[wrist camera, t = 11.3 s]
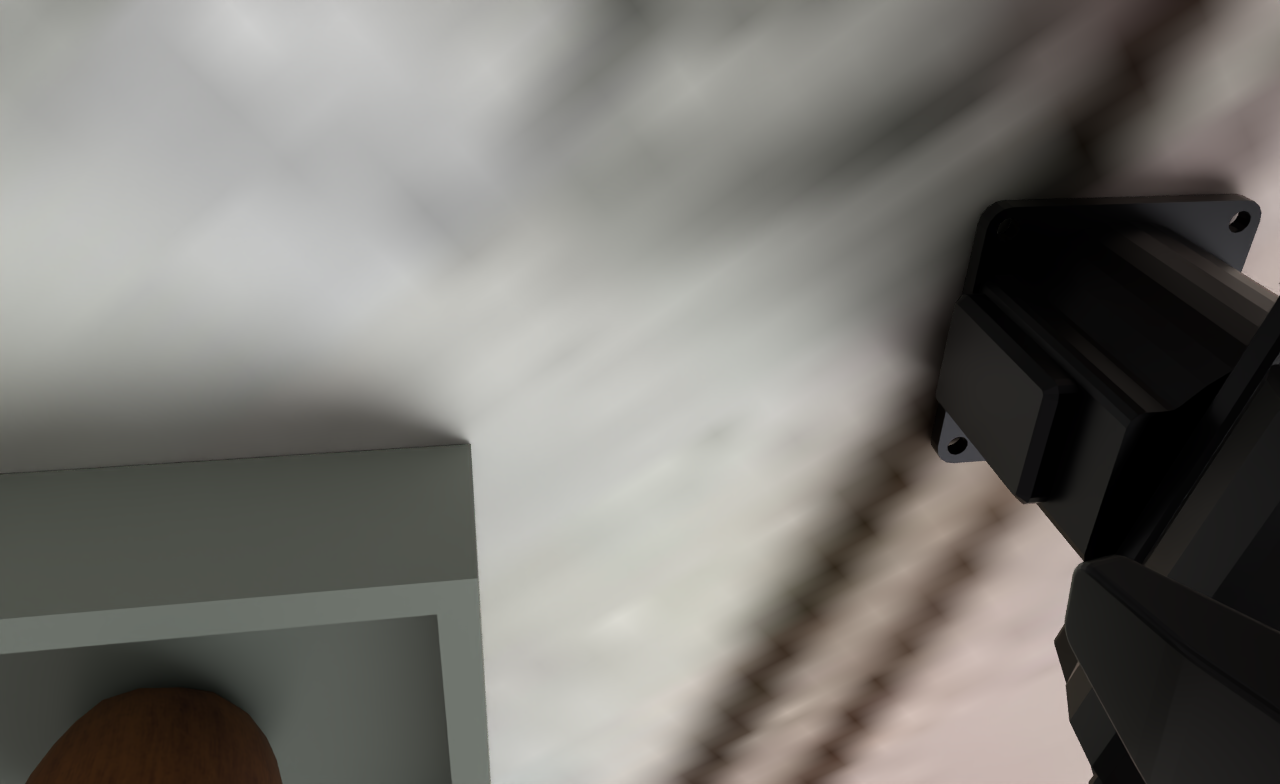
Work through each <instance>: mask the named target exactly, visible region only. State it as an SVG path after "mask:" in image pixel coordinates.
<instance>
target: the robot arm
mask: <svg viewBox="0 0 1280 784" xmlns="http://www.w3.org/2000/svg"><path fill="white" fill-rule="evenodd" d="M1238 212H1239V213H1238ZM1237 213H1238V216H1237V218H1236V220H1235V221H1234V222H1232V223H1231V224H1230V225H1229V222H1230V220H1231V219H1232V217H1233V216H1234V215H1235V214H1237ZM1009 218H1011V223H1010V225H1009V227H1008V228H1007V229H1006V230H1005V231H1004V232H1002V233H998V234H997V229H998V227H999V225H1000V224H1001V223H1002V222H1003V221H1004V220H1006V219H1009ZM1260 218H1261V210H1260V206H1259V205H1258V204H1257V203H1256V202H1254V201H1253V200H1251V199H1249V198H1247V197H1245V196H1243V195H1239V194H1211V195H1176V196H1140V197H1105V198H1070V199H1034V200H1004V201H1000V202H996V203H994V204H992V205H991V206H989V207H988V208H987V209H986V210H985V211H984V212H983V213H982V215H981V217H980V219H979V222H978V225H977V230H976V234H975V239H974V244H973V248H972V253H971V257H970V262H969V266H968V271H967V276H966V280H965V285H964V289H963V294H962V296H961V297H960V298H959V300H958V301H957V302H956V304H955V306H954V310H953V315H952V320H951V324H950V329H949V333H948V338H947V343H946V347H945V352H944V357H943V361H942V366H941V371H940V375H939V380H938V385H937V389H936V399H937V400H938V402H939V404H938V409H937V413H936V418H935V423H934V427H933V432H932V436H931V445H932V447H933V449H934V450H935V452H936V453H937V454H938V456H939V457H940V458H941V459H942V460H944V461H945V462H949V463H960V462H974V461H986V462H987V463H988V464H989V465H990V467H991V468H992V469H993V470H994V472H995V473H996V474H997V475H998V477H999V478H1000V479H1001V480H1002V482H1003V483H1004V484H1005V485H1006V487H1007V488H1008V489H1009V490H1010V492H1011V493H1012V494H1013V495H1014V496H1015V497H1016V498H1017V499H1018V500H1019V501H1020V502H1021V503H1023V504H1033V503H1036V504H1037V505H1038V506H1039V507H1040V509H1041V510H1042V511H1043V512H1044V513H1045V515H1046V516H1047V517H1048V518H1049V520H1050V521H1051V522H1052V523H1053V524H1054V526H1055V527H1056V528H1057V529H1058V530H1059V532H1060V533H1061V534H1062V535H1063V537H1064V538H1065V539H1066V540H1067V541H1068V543H1069V544H1070V545H1071V546H1072V548H1073V549H1074V550H1075V551H1076V552H1077V554H1078V555H1079V556H1080V557H1081V558H1082V560H1083V561H1084V562H1082V563H1080V564H1079V565H1078V566H1077V567H1076V569H1075V570H1074V572H1073V576H1072V582H1071V588H1070V593H1069V599H1068V605H1067V610H1066V616H1065V624H1064V625H1063V627H1062V629H1061V630H1060V632H1059V633H1058V635H1057V637H1056V638H1055V640H1054V644H1055V647H1056V651H1057V654H1058V657H1059V661H1060V664H1061V667H1062V671H1063V674H1064V677H1065V681H1066V692H1067V702H1068V712H1069V721H1070V723H1071V725H1072V727H1073V730H1074V732H1075V734H1076V736H1077V738H1078V740H1079V742H1080V744H1081V746H1082V748H1083V750H1084V752H1085V754H1086V757H1087V759H1088V761H1089V763H1090V765H1091V768H1092V772H1093V777H1092V778H1091V780H1090V781H1089V784H1280V296H1278V295H1276V294H1275V293H1273V292H1272V291H1270V290H1268V289H1267V288H1265V287H1264V286H1262V285H1260V284H1259V283H1257V282H1255V281H1254V280H1252V279H1251V278H1249V277H1247V276H1246V275H1244V274H1243V273H1241V271H1242V269H1243V266H1244V263H1245V260H1246V258H1247V255H1248V252H1249V250H1250V247H1251V244H1252V241H1253V239H1254V236H1255V233H1256V231H1257V228H1258V225H1259V222H1260ZM1279 284H1280V283H1279ZM957 437H960V438H959V440H958V441H957V442H956V443H954V444H952V445H949V446H948V444H949V443H950V441H952V440H953V439H954V438H957Z"/></svg>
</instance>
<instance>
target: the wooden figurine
mask: <svg viewBox="0 0 1280 784" xmlns="http://www.w3.org/2000/svg"><path fill="white" fill-rule="evenodd" d="M25 784H282V779H281V775H280V771H279V767H278V763H277V759H276V757H275V755H274V752H273V750H272V748H271V746H270V743H269V741H268V739H267V737H266V736H265V734H264V733H263V732H262V731H261V729H260V728H259V727H258V725H257V724H256V723H255V722H254V720H253V719H252V718H251V716H250V715H249V714H248V713H247V712H245V711H244V710H242V709H241V708H239V707H238V706H236V705H234V704H233V703H231V702H229V701H228V700H226V699H224V698H222V697H221V696H219V695H217V694H216V693H214V692H211V691H204V690H197V689H191V688H184V687H169V688H138V689H135V690H132V691H129V692H126V693H123V694H120V695H116V696H113V697H110V698H107V699H104V700H102V701H101V702H99V703H98V704H97V705H96V706H94V707H93V708H92V709H91V710H89V711H88V712H87V713H86V714H84V715H83V716H82V717H81V718H79V719H78V720H77V721H76V722H75V723H74V724H73V725H72V726H71V727H70V728H69V729H68V730H67V731H66V732H65V733H64V734H63V735H62V736H61V737H60V738H59V739H58V740H57V741H56V742H55V744H54V745H53V746H52V747H51V749H50V750H49V751H48V753H47V754H46V755H45V756H44V758H43V759H42V760H41V762H40V763H39V764H38V765H37V767H36V768H35V769H34V771H33V772H32V773H31V774H30V776H29V778H28V780H27V781H26V783H25Z"/></svg>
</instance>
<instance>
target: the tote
mask: <svg viewBox="0 0 1280 784" xmlns="http://www.w3.org/2000/svg"><path fill="white" fill-rule="evenodd" d="M169 687H184V688H191V689H197V690H204V691H211V692H214V693H216V694H217V695H219V696H221V697H222V698H224V699H226V700H228V701H229V702H231V703H233V704H234V705H236V706H238V707H239V708H241V709H242V710H244V711H245V712H247V713H248V714H249V715H250V716H251V718H252V719H253V720H254V722H255V723H256V724H257V725H258V727H259V728H260V729H261V731H262V732H263V733H264V734H265V736H266V737H267V739H268V741H269V743H270V746H271V748H272V750H273V752H274V755H275V757H276V759H277V763H278V767H279V771H280V775H281V779H282V784H491V780H490V763H489V746H488V729H487V712H486V695H485V678H484V662H483V645H482V628H481V611H480V594H479V577H478V560H477V543H476V526H475V509H474V492H473V475H472V458H471V444H463V445H447V446H432V447H416V448H401V449H385V450H370V451H354V452H339V453H323V454H308V455H292V456H277V457H261V458H246V459H230V460H215V461H199V462H184V463H168V464H153V465H137V466H121V467H106V468H90V469H75V470H59V471H44V472H28V473H13V474H0V784H25V783H26V781H27V780H28V778H29V776H30V774H31V773H32V772H33V771H34V769H35V768H36V767H37V765H38V764H39V763H40V762H41V760H42V759H43V758H44V756H45V755H46V754H47V753H48V751H49V750H50V749H51V747H52V746H53V745H54V744H55V742H56V741H57V740H58V739H59V738H60V737H61V736H62V735H63V734H64V733H65V732H66V731H67V730H68V729H69V728H70V727H71V726H72V725H73V724H74V723H75V722H76V721H77V720H78V719H79V718H81V717H82V716H83V715H84V714H86V713H87V712H88V711H89V710H91V709H92V708H93V707H94V706H96V705H97V704H98V703H99V702H101V701H102V700H104V699H107V698H110V697H113V696H116V695H120V694H123V693H126V692H129V691H132V690H135V689H138V688H169Z"/></svg>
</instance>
